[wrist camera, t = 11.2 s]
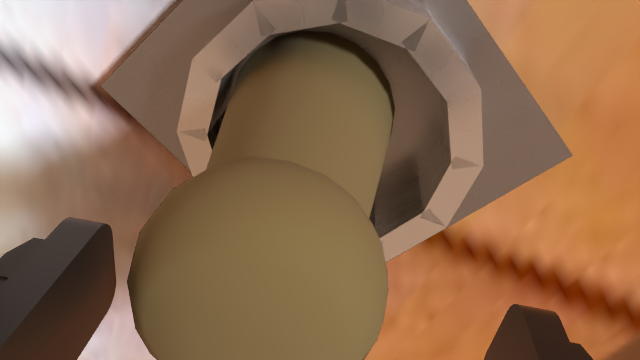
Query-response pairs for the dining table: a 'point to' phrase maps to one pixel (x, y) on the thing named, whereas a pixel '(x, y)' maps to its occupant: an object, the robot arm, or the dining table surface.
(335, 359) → the cork
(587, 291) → the dining table surface
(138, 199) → the dining table surface
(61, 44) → the dining table surface
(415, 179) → the hub
